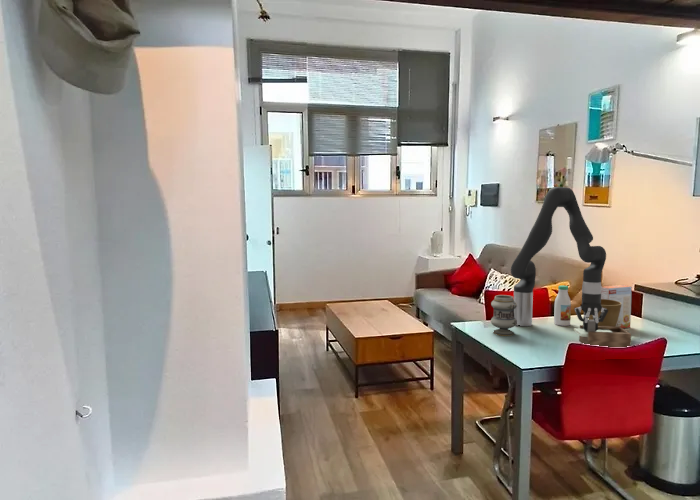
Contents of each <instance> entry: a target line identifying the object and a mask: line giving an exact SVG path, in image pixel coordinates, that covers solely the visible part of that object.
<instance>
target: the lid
mask: <svg viewBox="0 0 700 500" xmlns="http://www.w3.org/2000/svg"><path fill="white" fill-rule="evenodd" d="M587 323H588V330H587V331H585V330H584V329H582V328H580V327H578V328H575V327H574V328H573V331H574V332H575V334H578V335H580V336H581V337H588V332H589V331H591V332H612V331H610V330H609V329H598V330H596V331H595V321H594V320H589V319H588V322H587Z"/></svg>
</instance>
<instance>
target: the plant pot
mask: <svg viewBox="0 0 700 500" xmlns="http://www.w3.org/2000/svg"><path fill="white" fill-rule="evenodd" d="M621 304H622V303H621V302H619V301H615V300H608V299H601V306H602V307H603V308H606V309H607V310H608V312H607V314H606V316H605V318H604V320H603V322H599V323H598V326H616V324H617V321H618V317H619V314H620V309H621ZM601 313H602V312H601V310H600V311H599V313H598V318H599V316H600V315H601ZM588 320H594V319H593V315H589V318H588Z"/></svg>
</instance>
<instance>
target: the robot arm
mask: <svg viewBox="0 0 700 500" xmlns="http://www.w3.org/2000/svg"><path fill="white" fill-rule="evenodd" d="M558 208H563V209H564V210H565V211H566V213H567V215H568V219H569V223H568V224H569V225H568V226H569V231H570V233H571V235H572V237H573V239H574V241H575V242H576V247H577V252H578V256H579V258H580V259H581V260H582V262H584V263H588V264H589V266H588V267H586V268H584V269H583V271H582V272H583V273H582V275H583V276H582V285H581V287H582V288H581V304H580V306H578V307H574V309H573V310H574V312H575V314H576V316H577V319H578V320H579V321H580V322H582V325H583V329H584V330H585V331H587V330H588V323H587V322H588V320H589V315H593V319H594V321H595V331H596V330H598V323H599V322H603V320H604V318H605V316H606V314H607V312H608V310H607V309H606V308H603V307H602V306H601V290H602V287H603V286H602V273H603V270H604V266H605V264H606V259H607V253H606V250H605V248H604V247H603V246H601V245H590V244H591V243H592V242H593V240H594V236H593V234H592V232H591V230H590V229H589V227H588V225H587V223H586V221H585V219H584V217H583V214H582V211H581V209H580V205H579V202H578V200H577V197H576V195H575V193H574V191H573V190H572V189H571V188H570V187H566V186H564V187H563V186H553V187H551V188H549V190H548V191H547V192H546V195H545V198H544V200H543V203H542V206H541V208H540V212H539V213H538V215H537V218H536V220H535V223H534V224H533V226H532V227H531V230H530V231H529V234H528V236H527V239H526V240H525V242H524V244H523V245H522V248H521V249H520V251H519V253H518V255H517V256H516V258H515V259H514V261H513V262H512V264H511V266H510V273H511V276H512V277H513V278H514V279H518V280H519V282H517V283H516V284H514V286H513V299H514V301H515V302H516V303H517V307H516V308H515V309H514V318H515V319H516V320H517V325H516V326H518V325H520V326H519V327H530V326H532V325H533V304H534V303H533V301H534V299H533V298H534V297H533V296H534V287H535V285H536V276H537V275H536V271H537V270H536V269H537V268H536V265H535V263H534V262H533V261H532V259H533V257H535V256H536V255H537V254H538V253H539V252H540V251H541V250H542V249H544V247H546V245H547V243H548V242H549V239H550V237H551V236H552V234H553V220H552V219H553V216H554V214H555V212H556V210H557V209H558ZM600 310H601V312H602V313H601V315H600V316H599V318H598V313H599V311H600ZM582 311H583V316H582V314H581V312H582Z"/></svg>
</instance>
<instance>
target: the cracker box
mask: <svg viewBox="0 0 700 500" xmlns="http://www.w3.org/2000/svg"><path fill="white" fill-rule="evenodd" d="M601 287H602V290H601V299H608V300H615V301H619V302H621V303H622V304H621V309H620V314H619V317H618V321H617V324H616V326H617V327H621V328H623V329H627V328H631V320H632V319H631V315H632V314H631V313H632V286H629V285H624V284H620V285H619V284H617V285H607V286H606V285H605V286H601Z"/></svg>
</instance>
